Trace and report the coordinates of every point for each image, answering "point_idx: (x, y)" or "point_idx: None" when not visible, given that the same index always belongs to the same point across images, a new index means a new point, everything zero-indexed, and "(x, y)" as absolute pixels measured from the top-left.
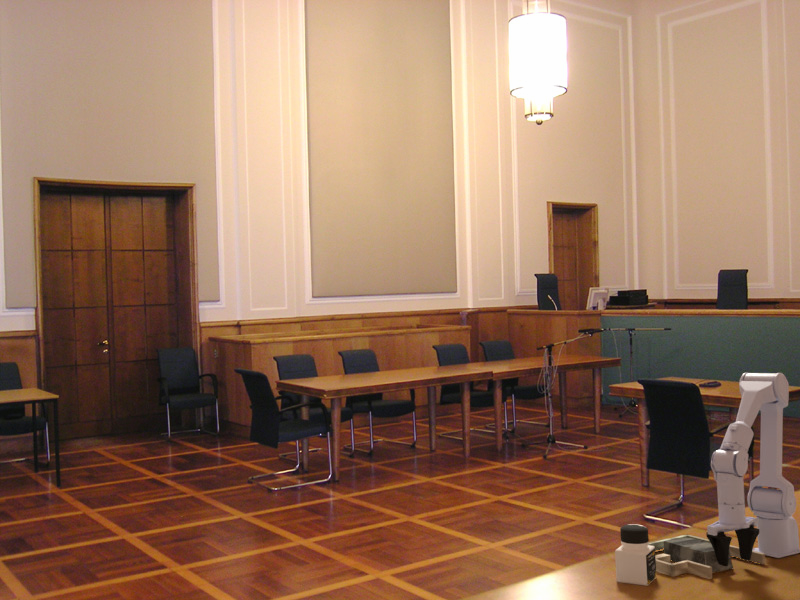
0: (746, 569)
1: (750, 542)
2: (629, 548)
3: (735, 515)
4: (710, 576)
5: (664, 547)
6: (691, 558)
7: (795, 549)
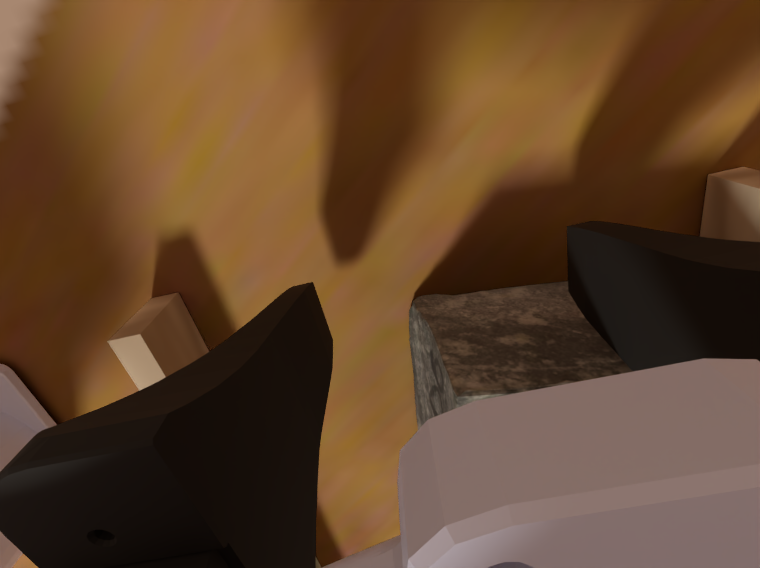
0: (338, 258)
1: (258, 358)
2: None
3: None
4: (740, 174)
5: None
6: None
7: None
